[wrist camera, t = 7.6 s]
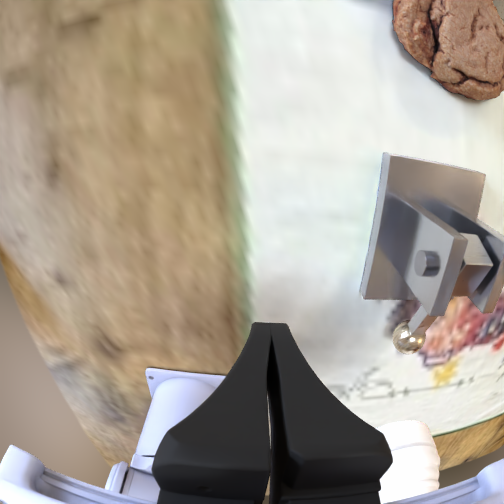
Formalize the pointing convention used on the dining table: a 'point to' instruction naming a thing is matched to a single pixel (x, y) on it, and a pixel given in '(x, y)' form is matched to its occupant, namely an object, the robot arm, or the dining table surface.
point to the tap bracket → (428, 235)
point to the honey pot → (409, 461)
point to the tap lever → (470, 276)
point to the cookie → (455, 43)
